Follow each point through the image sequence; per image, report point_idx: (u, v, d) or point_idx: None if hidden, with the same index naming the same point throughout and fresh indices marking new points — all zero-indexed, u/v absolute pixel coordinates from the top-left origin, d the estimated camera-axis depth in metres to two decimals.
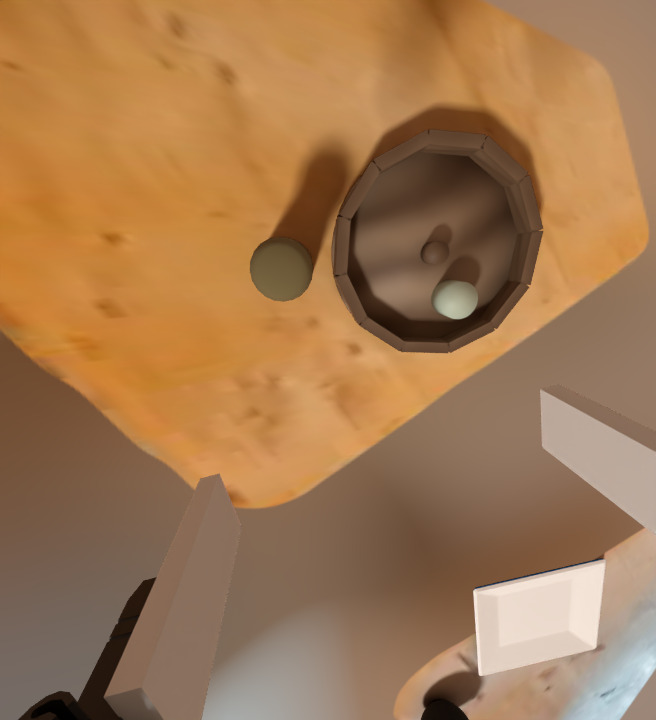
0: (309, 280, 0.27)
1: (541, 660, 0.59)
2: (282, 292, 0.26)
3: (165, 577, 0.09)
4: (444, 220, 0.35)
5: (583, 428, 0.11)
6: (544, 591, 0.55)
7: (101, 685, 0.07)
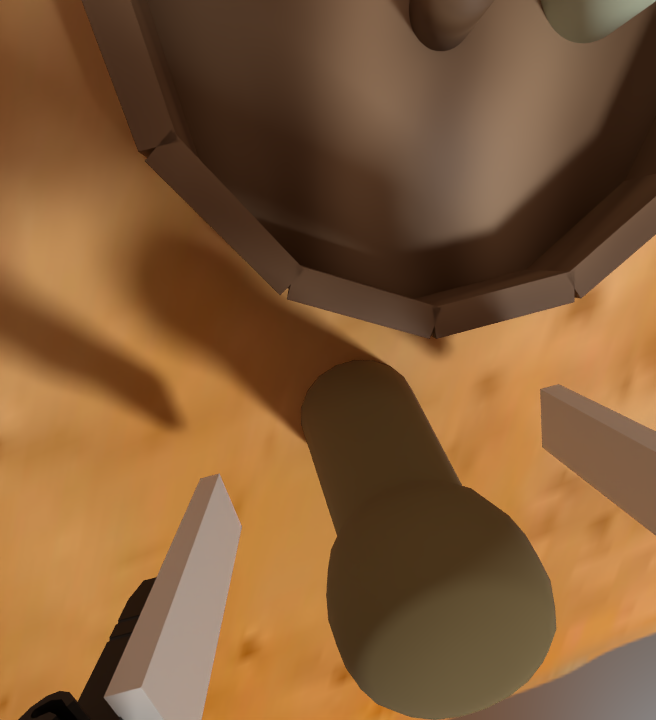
0: (517, 544, 0.07)
1: None
2: (539, 663, 0.07)
3: (165, 577, 0.09)
4: None
5: (582, 428, 0.11)
6: None
7: (101, 685, 0.07)
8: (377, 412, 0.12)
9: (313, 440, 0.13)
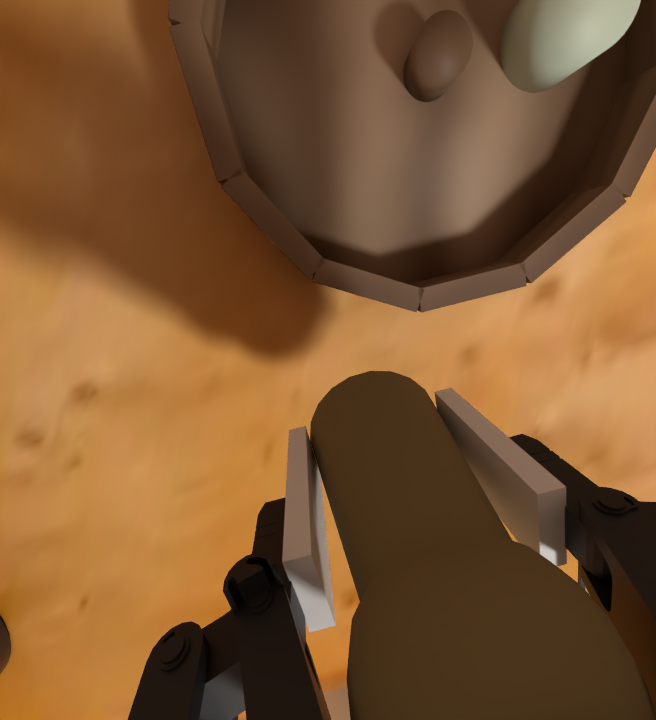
0: (608, 639, 0.05)
1: None
2: None
3: (294, 493, 0.10)
4: (367, 18, 0.15)
5: (456, 426, 0.13)
6: None
7: None
8: (401, 436, 0.10)
9: (325, 464, 0.12)
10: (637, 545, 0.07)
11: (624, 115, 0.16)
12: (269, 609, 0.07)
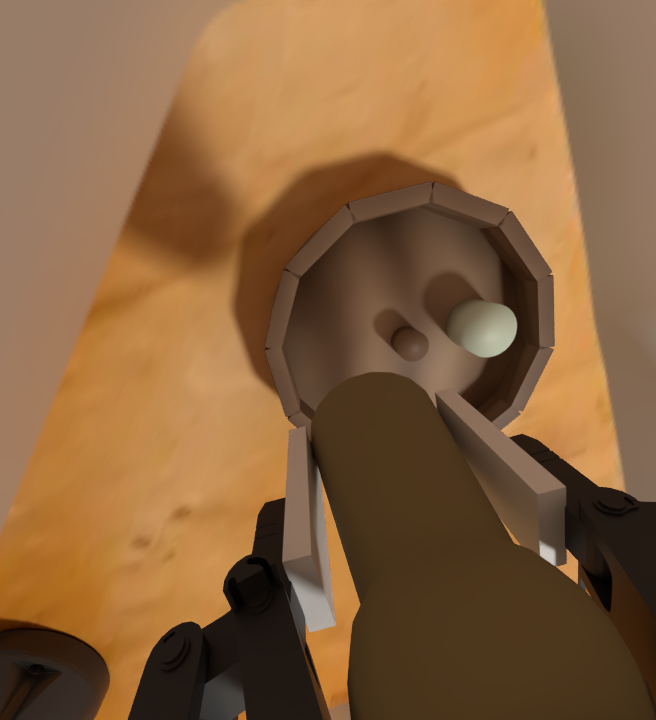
0: (612, 645, 0.05)
1: None
2: None
3: (293, 493, 0.10)
4: (370, 317, 0.26)
5: (456, 426, 0.13)
6: None
7: None
8: (401, 438, 0.10)
9: (325, 466, 0.12)
10: (637, 545, 0.07)
11: (518, 363, 0.27)
12: (269, 609, 0.07)
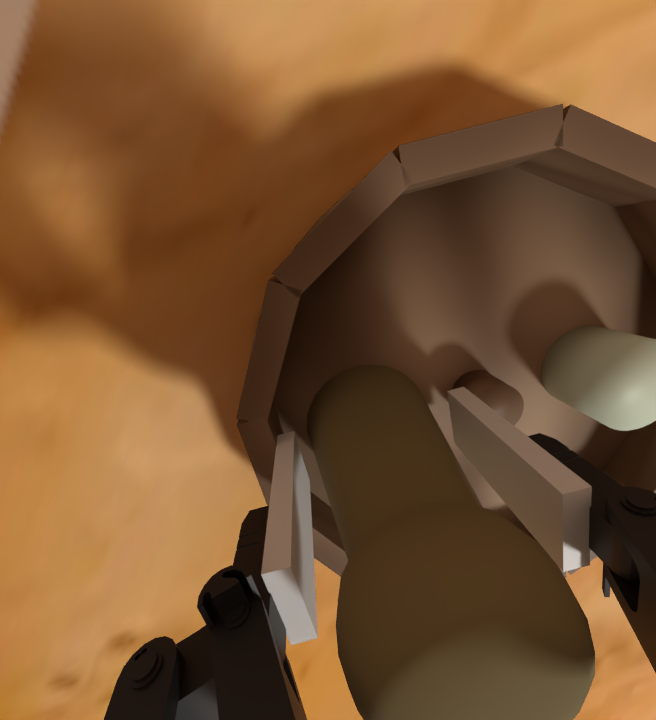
0: (553, 579, 0.06)
1: None
2: (574, 713, 0.06)
3: (277, 501, 0.10)
4: (418, 357, 0.15)
5: (471, 425, 0.12)
6: None
7: None
8: (388, 422, 0.11)
9: (320, 449, 0.13)
10: None
11: None
12: (246, 623, 0.07)
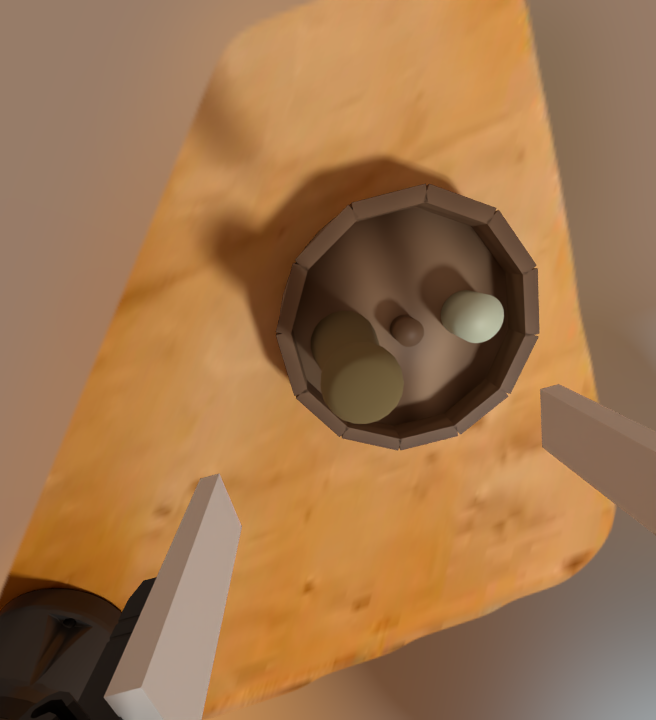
0: (387, 354, 0.19)
1: None
2: (394, 397, 0.19)
3: (165, 577, 0.09)
4: (371, 307, 0.28)
5: (582, 428, 0.11)
6: None
7: (101, 685, 0.07)
8: (347, 328, 0.24)
9: (317, 347, 0.26)
10: None
11: (507, 350, 0.29)
12: None
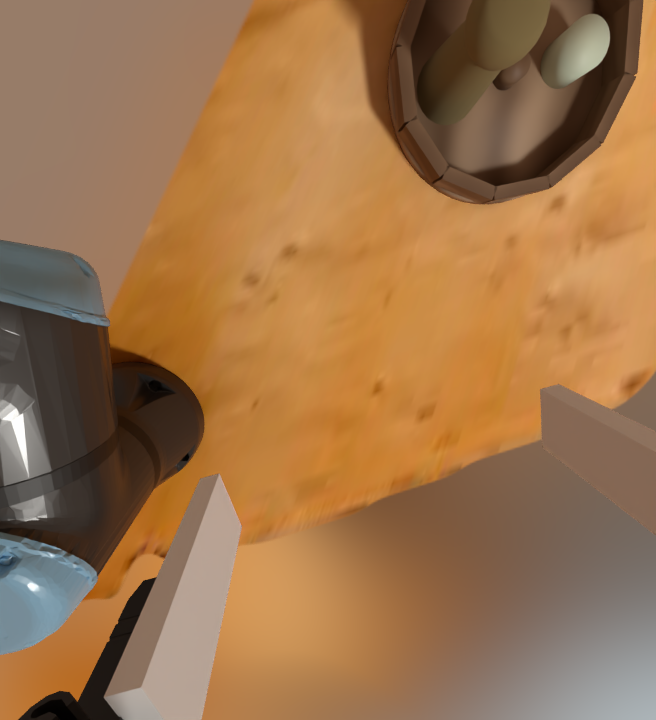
0: None
1: None
2: (544, 12, 0.21)
3: (165, 577, 0.09)
4: None
5: (582, 428, 0.11)
6: None
7: (101, 685, 0.07)
8: None
9: (435, 58, 0.27)
10: None
11: (601, 102, 0.31)
12: None
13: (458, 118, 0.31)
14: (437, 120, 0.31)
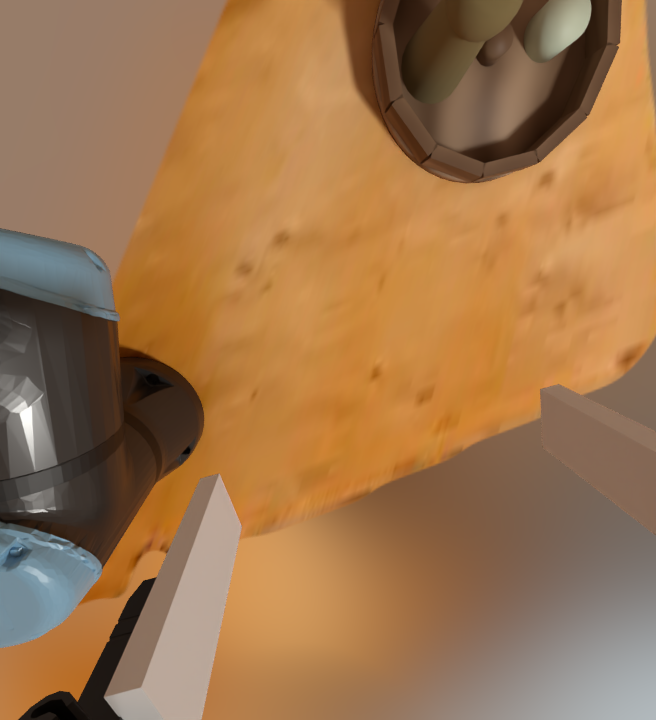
0: None
1: None
2: None
3: (165, 577, 0.09)
4: None
5: (582, 428, 0.11)
6: None
7: (101, 685, 0.07)
8: None
9: (418, 35, 0.27)
10: None
11: (585, 74, 0.31)
12: None
13: (444, 96, 0.31)
14: (423, 98, 0.31)
